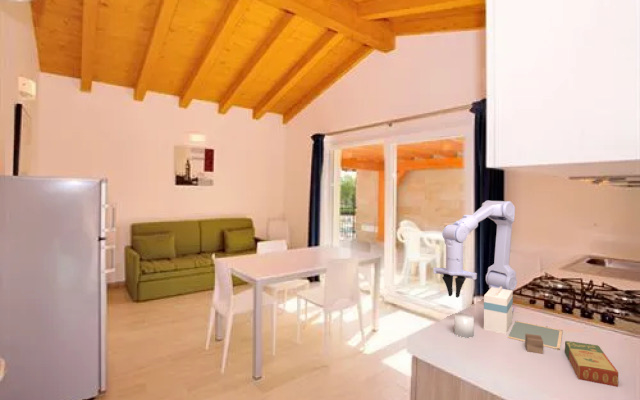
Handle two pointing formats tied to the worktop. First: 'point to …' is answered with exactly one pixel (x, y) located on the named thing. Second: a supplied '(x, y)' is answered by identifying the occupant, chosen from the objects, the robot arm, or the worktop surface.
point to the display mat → (547, 334)
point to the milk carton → (498, 310)
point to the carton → (591, 363)
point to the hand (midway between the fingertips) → (454, 296)
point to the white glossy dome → (464, 325)
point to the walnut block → (534, 343)
